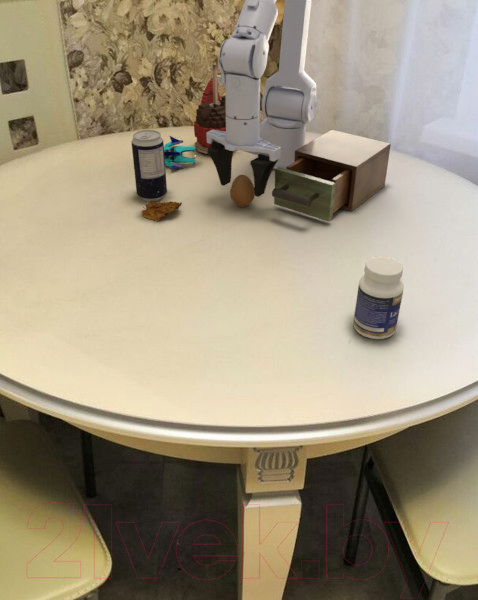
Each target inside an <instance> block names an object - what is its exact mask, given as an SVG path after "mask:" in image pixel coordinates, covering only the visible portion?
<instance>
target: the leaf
mask: <svg viewBox="0 0 478 600" xmlns="http://www.w3.org/2000/svg"><path fill="white" fill-rule="evenodd" d="M182 204H183V202H182V201H181V202H176V201H167V202H165V201H164V202H163V201H162V202H161V201H157V202H156V201H147V203H146V204H145V207H144V206H142V208H144V209H142V210H141V214H142V217H144V218H145V219H149V220H150V221H156V222H159V221H160V220H161V219H162V217H167V216H168V215H169V214H171V213H172V212H174V211H176V210H177V211H178V210H179V208H180V207H181V206H182Z"/></svg>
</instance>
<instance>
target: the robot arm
mask: <svg viewBox="0 0 478 600" xmlns="http://www.w3.org/2000/svg"><path fill="white" fill-rule="evenodd" d="M276 3H277V0H244V3H243V6H242V8H241V11H240V14H239V16H238V19H237V21H236V23H235V24H236V25H235V26H234V30H233V32H232V34H231V36H229V38H227V39H225V40H223V42H222V44H221V45H220V48H219V53H218V59H217V63H218V64H217V66H218V69H219V72H220V74H221V76H222V86H223V87H225V88H224V89H225V91H224V93H225V95H226V132H225V131H218V130H211V131H209V132H207V133H206V134H207V143H209V144H212V145H211V147H210V148H208V149H207V153H208V156H209V157H210V159H211V161H212V163H213V164H214V167H215V170H216V172H217V175H218V179H219V182H220V186H223V187H224V186H226V185H228V184H230V183H231V181H232V161H233V156H234V152H235V151H241V152H245V153H249V154H252V155H255V156H256V158H253V159H252V160H250V162H249V163H250V166H251V170H252V174H253V182H254V183H253V185H254V193H255V195H254V197H258V198H259V197H260V196H261V197H262V196H263V195H264V194H265V192H266V189H267V185H268V181H269V179H270V176H271V174H272V172H273V170H275V169H276V168H278V167H281V168H285V169H286V167H287V166H288V165H290V164H292V163H293V162H294V160H295V150H297V149H299V148H301V147H302V146H304V145H306V134H307V125H309V124H310V123H311V122H312V121H313V120H314V117H315V115H316V112H317V106H318V102H317V101H318V98H317V89H318V88H317V83H316V82H315V81H314V80H313V79H312V78H311V76H309V74H307V73H306V71H305V65H306V55H307V47H308V36H309V29H310V18H311V10H312V9H311V8H312V0H284V6H283V17H282V18H283V19H282V29H281V40H280V42H281V43H280V52H279V62H278V63H279V64H278V70H277V71H276V72H275V73H273V74H272V75H271V76H270V77H268V78H267V79H266V81H265V86H264V91H263V93H262V98H261V78H262V77H263V76H264V73H265V71H266V68H267V64H268V55H269V50H270V44H269V40H270V37H271V35H272V32H273V29H274V28H275V27H274V26H275V24H276V22H277V19H278V16H279V10H278V7H277V5H276ZM261 113H262V114H263V116H264V118H263V119H262V121H261V117H260V116H261ZM260 121H261V122H260Z"/></svg>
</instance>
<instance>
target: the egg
mask: <svg viewBox="0 0 478 600" xmlns="http://www.w3.org/2000/svg"><path fill="white" fill-rule="evenodd" d="M229 192H230V193H229V194H230V199H231V201H232V202H233V204H235V205H236V206H238V207H241V208H242V207H247V206H249V205H250V204H251V203H252V202H253V200H254V199H255V193H254V183H253V181H252V179H251V178H250V177H249V176H248V175H246V174H239V175H237V176H236V177H235V178H234V179H233V181H232V183H231V186H230V191H229Z"/></svg>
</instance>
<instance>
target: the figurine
mask: <svg viewBox="0 0 478 600" xmlns="http://www.w3.org/2000/svg"><path fill="white" fill-rule="evenodd" d="M169 139H170V141H169V142H167V143H165V144H164V156H165V166H167V167H169V169H180V170H181V169H185V168H184V166H183V165H181V164H189V163H190V164H193V165H196V164H197V162H196V161H197V160H196V158H197V155H196V154H195V155H194V156H193V157H188V156H184V155H183V153H186V152H187V153H188V152H196V149H195V145H193V146H192V145H191V146H190V145H189V146H188V145H180V144H183V143H184V140H183V139H177V138H176V137H173V136H171V135H169Z"/></svg>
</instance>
